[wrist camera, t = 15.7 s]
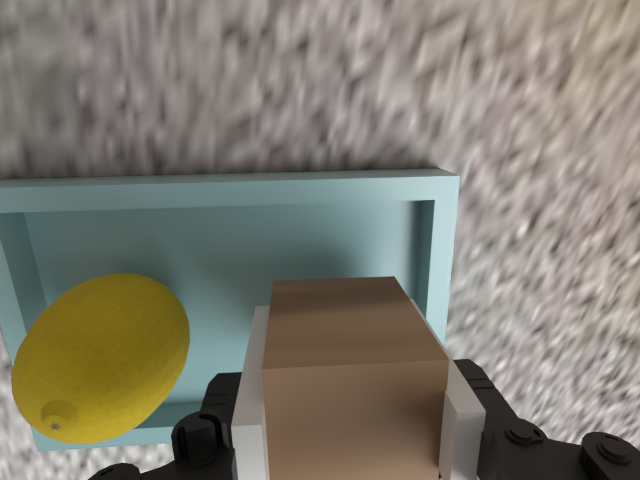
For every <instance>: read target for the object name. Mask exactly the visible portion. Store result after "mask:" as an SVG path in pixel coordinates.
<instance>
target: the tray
mask: <svg viewBox="0 0 640 480" xmlns="http://www.w3.org/2000/svg"><path fill="white" fill-rule="evenodd" d="M459 181H460V176H459V175H457V174H454V173H451V172H448V171H446V170H443V169H440V168H424V169H384V170H345V171H306V172H267V173H227V174H188V175H149V176H110V177H71V178H31V179H3V180H0V326H1V329H2V333H3V336H4V339H5V343H6V346H7V349H8V353H9V356H10V359H11V363H12V366H13V365H14V361H15V357H16V354H17V351H18V349H19V347H20V345H21V343H22V341H23V340H24V338H25V337H26V335H27V333H28V332H29V330H30V328H31V327H32V325H33V324H34V322H35V321H36V320H37V318H38V317H39V316H40V315H41V313H42V312H43V311H44V310H45V309H46V308H47V307H48V306H50V305H51V304H52V303H53V302H54V301H55V300H57V299H58V298H59V297H60V296H61V295H62V294H64V293H65V292H67V291H68V290H70V289H71V288H73V287H75V286H77V285H79V284H82V283H84V282H86V281H88V280H90V279H93V278H95V277H99V276H103V275H109V274H114V273H132V274H138V275H142V276H146V277H149V278H152V279H154V280H156V281H158V282H160V283H162V284H164V285H165V286H166V287H167V288H168V289H170V290H171V291H172V292H173V293H174V294H175V295H176V297H177V298H178V299H179V301H180V302H181V304H182V305H183V307H184V310H185V312H186V315H187V317H188V320H189V329H190V345H189V350H188V354H187V359H186V363H185V366H184V368H183V371H182V373H181V374H180V376H179V378H178V380H177V382H176V384H175V385H174V387H173V389H172V390H171V392H170V394H169V395H168V396H167V398H166V399H165V400H164V401H163V402H162V403H161V405H160V406H159V407H158V408H157V409H156V410H155V411H154V412H153V413H152V414H151V415H150V416H149V417H148V418H146V419H145V420H144V421H143V422H142V423H141V424H139V425H138V426H137V427H135V428H133V429H131V430H130V431H128V432H126V433H124V434H122V435H120V436H118V437H116V438H113V439H109V440H106V441H103V442H98V443H90V444H73V443H64V442H60V441H57V440H54V439H51V438H49V437H47V436H45V435H43V434H41V433H39V432H38V431H37V430H36V429H34V428H33V427H32V426H31V425H30V426H31V430H32V433H33V436H34V440H35V443H36V447H37V450H38V451H51V450H67V449H83V448H99V447H115V446H131V445H147V444H163V443H172V440H171V433H172V430H173V428H174V426H175V425H176V424H177V423H178V422H179V420H181V419H182V418H184V417H185V416H187V415H189V414H191V413H194V412H197V411H200V408H201V407H202V402H203V399H204V397H205V392H206V389H207V386H208V383H209V382H210V381H211V380H212V379H213V378H214V377H215V376H216V375H217V374H218V373H230V372H242V370H243V366H244V361H245V356H246V351H247V346H248V341H249V336H250V332H251V327H252V322H253V317H254V312H255V307H256V306H267V305H270V301H271V293H272V285H273V281H278V280H305V279H332V278H359V277H386V276H395V278H396V279H397V281H398V282H399V284H400V285H401V287H402V288H403V290H404V291H405V293H406V295H407V296H408V298H409V299H413V300H414V301H415V303H416V304H417V306H418V308H419V309H420V311H421V312H422V314H423V315H424V317H425V318H426V320H427V321H428V323H429V324H430V326H431V327H432V329H433V331H434V332H435V334H436V335H437V337H438V338H439V340H440V341H441V343H442V344H443V346H444V345H445V334H446V323H447V312H448V301H449V290H450V279H451V268H452V257H453V247H454V236H455V225H456V214H457V203H458V192H459Z"/></svg>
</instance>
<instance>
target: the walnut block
mask: <svg viewBox="0 0 640 480" xmlns="http://www.w3.org/2000/svg"><path fill="white" fill-rule="evenodd" d="M449 361H450V360H449V358H448V357H447V355H446V354H445V352H444V351H443V349H442V348H441V346H440V345H439V343H438V342H437V340H436V338H435V337H434V335H433V334H432V332H431V331H430V329H429V328H428V326H427V325H426V323H425V322H424V320H423V319H422V317H421V316H420V314H419V313H418V311H417V310H416V308H415V307H414V305H413V304H412V302H411V301H410V299H409V298H408V296H407V295H406V293H405V291H404V290H403V288H402V287H401V285H400V284H399V282H398V281H397V279H396V278H395V276H386V277H359V278H332V279H305V280H278V281H273V285H272V293H271V301H270V309H269V317H268V325H267V332H266V340H265V348H264V356H263V364H262V380H263V395H264V408H265V422H266V436H267V451H268V465H269V479H270V480H438V478H439V469H438V466H439V454H440V443H441V431H442V420H443V408H444V397H445V391H447V382H448V371H449Z"/></svg>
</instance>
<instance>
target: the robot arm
mask: <svg viewBox="0 0 640 480" xmlns="http://www.w3.org/2000/svg"><path fill="white" fill-rule="evenodd" d="M410 301H411V302H412V304H413V305H414V307H415V308H416V310H417V311H418V313H419V314H420V316H421V317H422V319H423V320H424V322H425V323H426V325H427V326H428V328H429V329H430V331H431V332H432V334H433V335H434V337H435V338H436V340H437V342H438V343H439V345H440V346H441V348H442V349H443V351H444V352H445V354H446V355H447V357H448V358H449V360H450V361H449V371H448V382H447V391H445V397H444V408H443V420H442V431H441V443H440V454H439V466H438V469H439V471H440V474H441V476H442V479H443V480H477V476H478V478H479V479H480V480H640V451H639V450H638V449H636V448H635V447H634V446H633V445H631V444H630V443H629V442H627V441H625V440H623V439H621V438H619V437H617V436H614V435H611V434H608V433H603V432H591V433H587V434H586V435H585V436H584V437H583V438H582V442H581V445H576V444H571V443H566V442H560V441H556V440H552V439H548V438H547V436H546V435H545V434H544V432H543V431H542V430H541V429H539V428H538V427H537V426H536V425H534V424H532V423H530V422H528V421H526V420H524V419H520V418H518V416H517V415H516V414H515V412H514V411H513V410H512V408H511V407H510V406H509V404H508V403H507V402H506V400H505V399H504V398H503V396H502V395H501V394H500V392H499V391H498V390H497V389H496V388H495V386H494V384H493V383H492V382H491V380H489V378H488V376H487V375H486V374H485V372H484V371H483V369H482V368H481V367H479V366H478V365H477V364H475V363H474V362H472V361H471V360H469V359H461V360H452V358H451V357H450V355H449V354H448V352H447V351H446V349H445V347H444V346H443V344H442V343H441V341H440V340H439V338H438V337H437V335H436V334H435V332H434V331H433V329H432V327H431V326H430V324H429V323H428V321H427V320H426V318H425V317H424V315H423V314H422V312H421V311H420V309H419V308H418V306H417V304H416V303H415V301H414V300H413V299H410ZM269 309H270V305H267V306H256V307H255V312H254V317H253V322H252V327H251V332H250V336H249V341H248V346H247V351H246V356H245V361H244V366H243V370H242V372H230V373H218V374H217V375H216V376H215V377H214V378H213V379H212V380H211V381H210V382H209V383H208V386H207V389H206V392H205V397H204V399H203V402H202V407H201V408H200V411H197V412H194V413H191V414H189V415H187V416H185V417H184V418H182V419H181V420H179V422H178V423H177V424H176V425H175V426H174V428H173V430H172V433H171V440H172V447H173V453H174V459H175V460H173V461H172V462H170V463H169V464H167V465H164V466H162V467H159V468H157V469H154V470H150V471H147V472H144V473H141V474H140V471H139V469H138V468H137V467H136V466H134V465H133V464H128V463H119V464H114V465H110V466H108V467H106V468H104V469H102V470H100V471H98V472H97V473H96V474H94V475H93V476H92V477H91V478H89V479H88V480H270V479H269V465H268V451H267V436H266V422H265V408H264V395H263V380H262V364H263V356H264V348H265V340H266V332H267V325H268V317H269Z"/></svg>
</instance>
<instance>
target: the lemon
mask: <svg viewBox="0 0 640 480" xmlns="http://www.w3.org/2000/svg"><path fill="white" fill-rule="evenodd" d="M189 345H190V329H189V320H188V317H187V315H186V312H185V310H184V307H183V305H182V304H181V302H180V301H179V299H178V298H177V297H176V295H175V294H174V293H173V292H172V291H171V290H170V289H168V288H167V287H166V286H165V285H164V284H162V283H160V282H158V281H156V280H154V279H152V278H149V277H146V276H142V275H138V274H132V273H114V274H109V275H103V276H99V277H95V278H93V279H90V280H88V281H86V282H84V283H82V284H79V285H77V286H75V287H73V288H71V289H70V290H68V291H67V292H65V293H64V294H62V295H61V296H60V297H59V298H58V299H57V300H55V301H54V302H53V303H52V304H51V305H50V306H48V307H47V308H46V309H45V310H44V311H43V312H42V313H41V315H40V316H39V317H38V318H37V320H36V321H35V322H34V324H33V325H32V327H31V328H30V330H29V332H28V333H27V335H26V337H25V338H24V340H23V341H22V343H21V345H20V347H19V349H18V351H17V354H16V357H15V361H14V365H13V370H12V378H11V382H12V391H13V396H14V400H15V402H16V404H17V407H18V409H19V411H20V413H21V414H22V415H23V417H24V418H25V419H26V421H27V422H28V423H29V424H30V425H31V426H32V427H33V428H34V429H36V430H37V431H38V432H39V433H41V434H43V435H45V436H47V437H49V438H51V439H54V440H57V441H60V442H64V443H73V444H90V443H98V442H103V441H106V440H109V439H113V438H116V437H118V436H120V435H122V434H124V433H126V432H128V431H130V430H131V429H133V428H135V427H137V426H138V425H139V424H141V423H142V422H143V421H144V420H145V419H146V418H148V417H149V416H150V415H151V414H152V413H153V412H154V411H155V410H156V409H157V408H158V407H159V406H160V405H161V403H162V402H163V401H164V400H165V399H166V398H167V396H168V395H169V394H170V392H171V390H172V389H173V387H174V385H175V384H176V382H177V380H178V378H179V376H180V374H181V373H182V371H183V368H184V366H185V363H186V359H187V354H188V350H189Z"/></svg>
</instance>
